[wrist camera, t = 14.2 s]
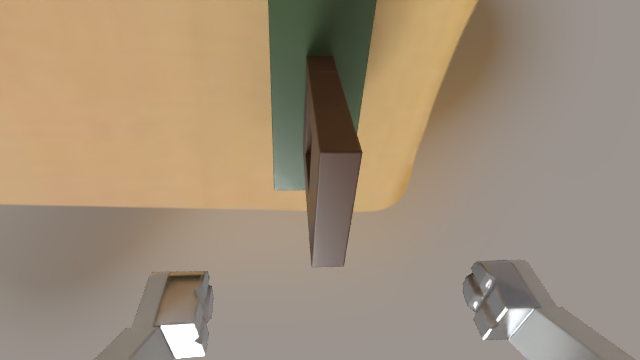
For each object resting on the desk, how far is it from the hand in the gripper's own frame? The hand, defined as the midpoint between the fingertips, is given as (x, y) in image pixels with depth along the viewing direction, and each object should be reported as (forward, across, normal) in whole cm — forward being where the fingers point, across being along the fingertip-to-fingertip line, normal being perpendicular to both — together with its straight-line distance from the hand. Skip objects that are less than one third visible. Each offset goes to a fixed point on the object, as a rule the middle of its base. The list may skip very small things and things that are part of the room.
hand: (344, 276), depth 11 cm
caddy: (+19, 0, +1) cm, 19 cm away
